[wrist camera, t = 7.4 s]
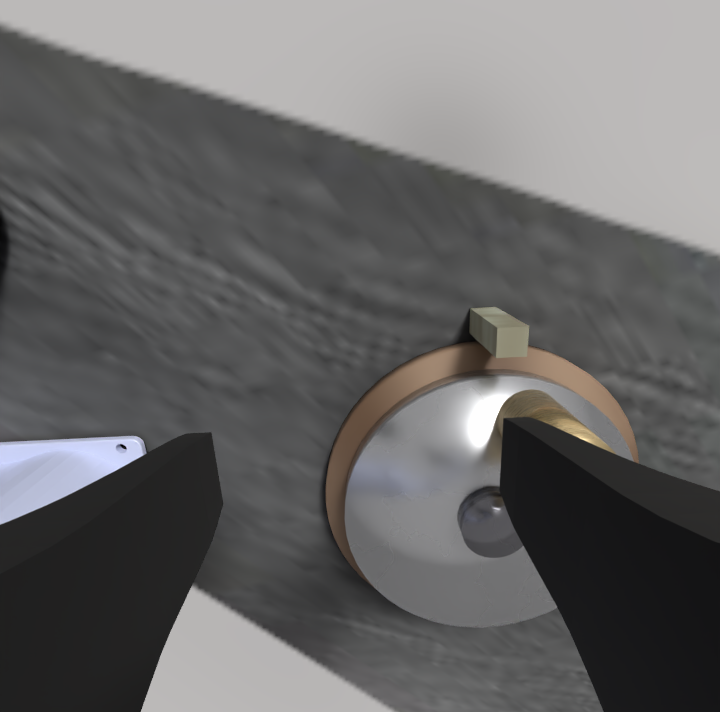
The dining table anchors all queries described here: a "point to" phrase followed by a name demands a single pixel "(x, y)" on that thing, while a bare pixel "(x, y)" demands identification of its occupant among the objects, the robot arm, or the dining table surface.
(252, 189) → the dining table surface
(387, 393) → the wheel base
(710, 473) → the dining table surface
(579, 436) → the handwheel
